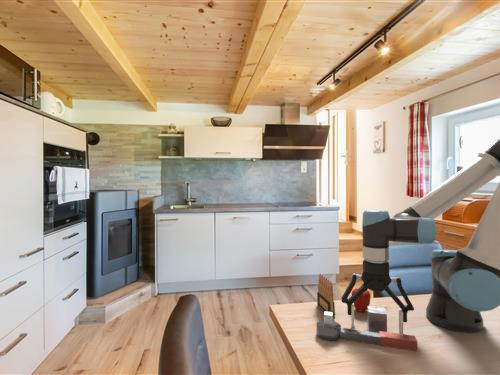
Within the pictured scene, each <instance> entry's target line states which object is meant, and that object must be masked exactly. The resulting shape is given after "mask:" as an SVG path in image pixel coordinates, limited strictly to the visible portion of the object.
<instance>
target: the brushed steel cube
mask: <svg viewBox="0 0 500 375" xmlns="http://www.w3.org/2000/svg"><path fill="white" fill-rule="evenodd" d="M367 327H368V331H369V332H377V333H379V331H383V332H388V312H387V311H386V307H382V306H373V305H369V306H368V309H367Z"/></svg>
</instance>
